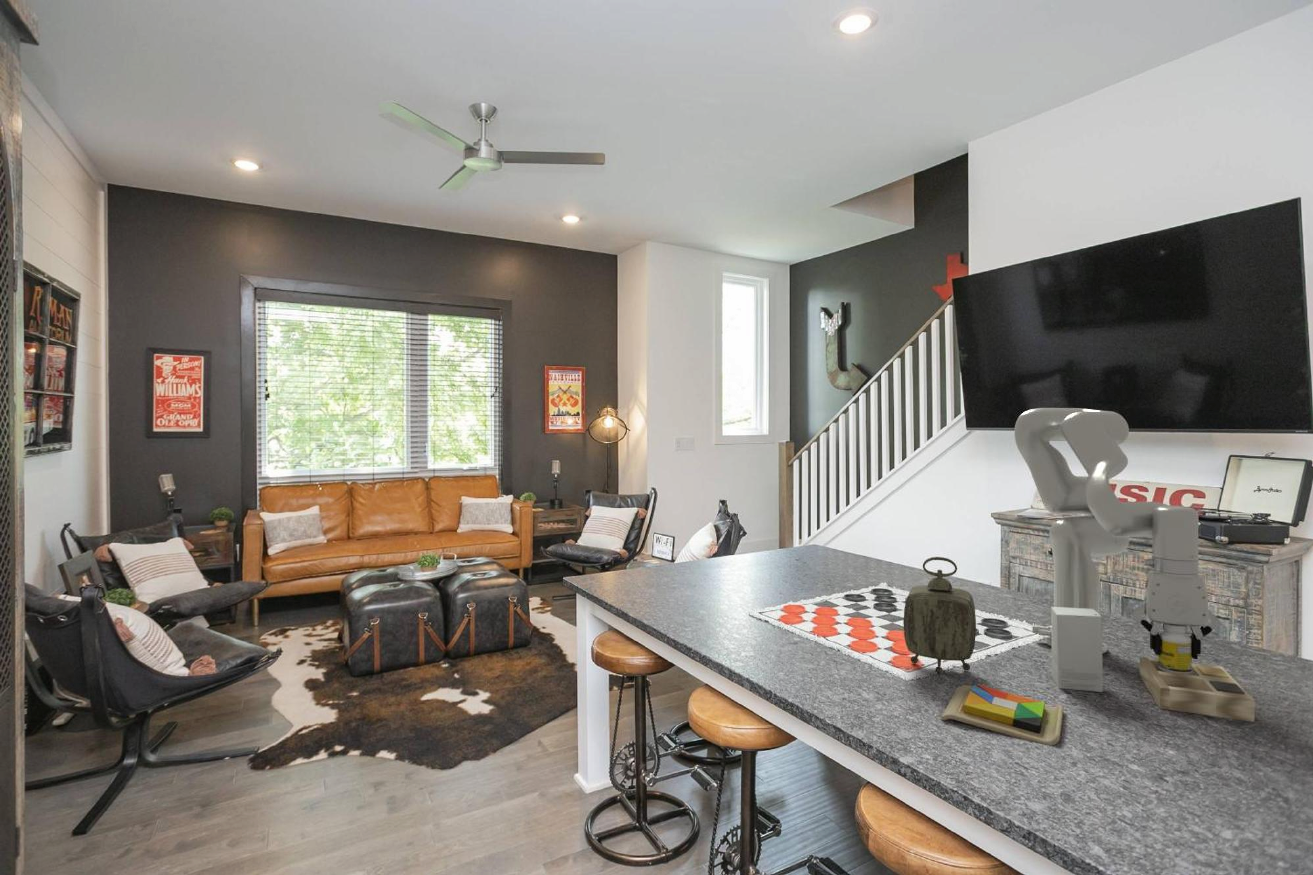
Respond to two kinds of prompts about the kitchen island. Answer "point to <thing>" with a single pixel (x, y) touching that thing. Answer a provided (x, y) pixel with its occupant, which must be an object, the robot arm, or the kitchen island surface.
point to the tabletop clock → (940, 620)
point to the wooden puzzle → (1005, 713)
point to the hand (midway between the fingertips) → (1174, 654)
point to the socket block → (1198, 691)
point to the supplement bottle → (1175, 649)
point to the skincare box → (1077, 649)
